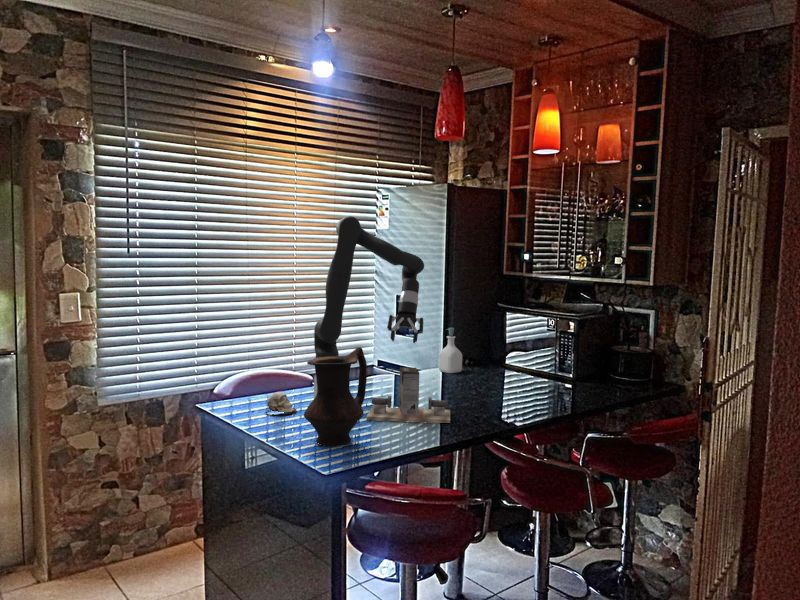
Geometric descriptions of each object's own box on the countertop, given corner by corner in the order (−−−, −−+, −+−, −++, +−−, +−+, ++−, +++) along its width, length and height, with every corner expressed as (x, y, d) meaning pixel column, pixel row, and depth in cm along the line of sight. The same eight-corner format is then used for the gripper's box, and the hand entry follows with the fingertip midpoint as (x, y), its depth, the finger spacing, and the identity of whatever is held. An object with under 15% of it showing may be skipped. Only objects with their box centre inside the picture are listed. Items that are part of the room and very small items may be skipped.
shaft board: (366, 420, 223) (366, 399, 222) (371, 410, 237) (371, 390, 236) (450, 424, 220) (450, 402, 220) (450, 413, 234) (450, 393, 233)
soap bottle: (450, 369, 324) (451, 326, 322) (463, 372, 316) (464, 328, 315) (436, 371, 318) (438, 327, 316) (450, 374, 310) (451, 329, 309)
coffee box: (398, 409, 233) (399, 367, 231) (415, 409, 233) (416, 367, 232) (401, 415, 224) (402, 371, 222) (418, 415, 224) (419, 371, 223)
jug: (321, 456, 183) (322, 356, 180) (293, 440, 198) (294, 347, 195) (380, 444, 195) (382, 350, 193) (350, 430, 210) (351, 342, 208)
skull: (304, 407, 236) (294, 391, 229) (291, 430, 229) (280, 414, 223) (279, 402, 241) (268, 386, 234) (266, 424, 235) (254, 408, 228)
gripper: (389, 299, 250) (384, 337, 244) (424, 301, 247) (420, 340, 242) (392, 305, 257) (387, 343, 251) (426, 308, 254) (422, 346, 249)
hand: (403, 341), depth 246 cm, fingers open, 8 cm apart
